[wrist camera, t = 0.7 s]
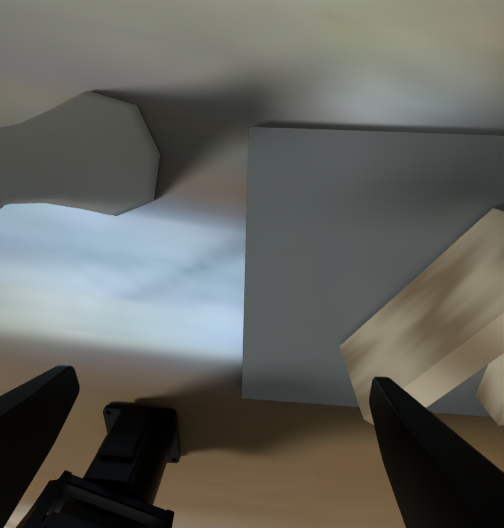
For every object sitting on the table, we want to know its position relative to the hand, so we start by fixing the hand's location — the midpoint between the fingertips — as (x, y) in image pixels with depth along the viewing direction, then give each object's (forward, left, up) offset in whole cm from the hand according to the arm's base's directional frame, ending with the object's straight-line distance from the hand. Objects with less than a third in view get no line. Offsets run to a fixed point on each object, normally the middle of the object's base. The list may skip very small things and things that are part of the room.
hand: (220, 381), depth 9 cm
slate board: (-3, -10, -12) cm, 16 cm away
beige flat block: (-2, -11, -11) cm, 16 cm away
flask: (+5, +9, -13) cm, 16 cm away
